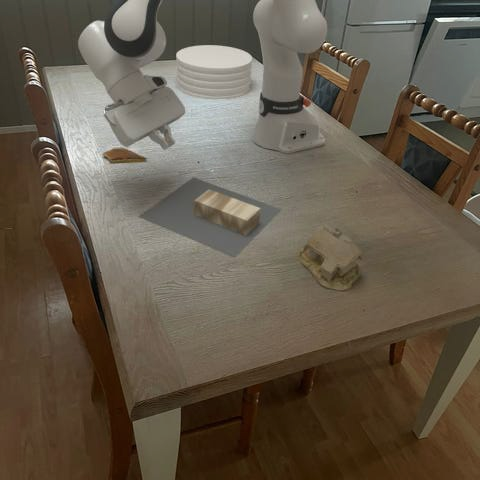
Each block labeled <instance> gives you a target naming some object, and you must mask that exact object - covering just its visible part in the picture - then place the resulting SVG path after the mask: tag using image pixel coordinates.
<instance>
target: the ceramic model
mask: <svg viewBox="0 0 480 480" xmlns="http://www.w3.org/2000/svg"><path fill="white" fill-rule="evenodd" d="M342 231H343V230H342V229H341V228H339V227H336V228H333V227H331V226H330V225H328V224H324V225H319V226H318V227H316V228H315V229H314V231H313V232H312V233H311V234H310V236H309V237H308V239H307V242H305V243H303V244H302V245H300V249H299V261H300V263H301V264H302V265H303V266H304V267H305V268H306V269H308V270H309V272H310V273H311V274H312V275H313V277H314V278H315V280H316V281H317V282H318V283H319V284H320V285H322V287H324V288H327V289H331V290H336V291H341V292H342V291H348V290H350V289H351V288H352V285H353V284H354V282H355V281H356V280H358V278H359V277H361V274H362V265H361V264H360V263H359V260H363V258H364V255H363V253H362V251H361V250H360V249H359V248H358V246H357V245H356V244H355V243H354V242H353V239H351V238H350V237H348V236H346V235H345V234H342Z"/></svg>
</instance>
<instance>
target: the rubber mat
mask: <svg viewBox="0 0 480 480" xmlns="http://www.w3.org/2000/svg"><path fill="white" fill-rule="evenodd" d="M209 189H210V190H213V191H215V192H218V193H221V194H223V195H226V196H229V197H232V198H234V199H237V200H240V201H242V202H245V203H248V204H251V205H253V206H256V207H259V208H261V209H260V219H259V223H258V224H257V225H256V226H255V227H254V228H253V229H252V230H251V231H250V232H249V233H248V234H247V235H244V234H241V233H239V232H236V231H234V230H231V229H229V228H226V227H224V226H221V225H219V224H216V223H214V222H211V221H209V220H206V219H204V218H201V217H199V216H196V215H195V213H194V200H196V199H197V198H198V197H199V196H201V195H202V194H203V193H205V192H206V191H207V190H209ZM281 211H282V208H279V207H278V206H277V207H276V206H274V205H271V204H268V203H265V202H263V201H259V200H257V199H254V198H252V197H249V196H246V195H243V194H240V193H238V192H235V191H232V190H230V189H226V188H223V187H222V186H221V187H220V186H218V185H215V184H213V183H210V182H207V181H205V180H202V179H199V178H196V177H192V178H190V179H189V180H188V181H186V182H185V183H183V184H182V185H180V186H179V187H178V188H176V189H175V190H174V191H172V192H170V194H168V195H166V196H165V197H164V198H163V199H161V200H160V201H158V202H156V203H155V204H154V205H152V206H151V207H150V208H148V209H147V210H145V211H144V212H143V213H141V214H140V215H138V216H137V217H138V218H140V219H142V220H145V221H147V222H150V223H152V224H155V225H157V226H160V227H161V228H164V229H167V230H169V231H170V232H173V233H176V234H178V235H180V236H182V237H185V238H188V239H190V240H193V241H194V242H197V243H199V244H202V245H203V246H206V247H208V248H212V249H213V250H215V251H219V252H221V253H224V254H225V255H227V256H230V257H232V258H236V257H237V256H238V255H239V254H240V253H241V252H242V251H243V250H244V249H245V248H246V247H247V246H248V245H249V244H250V243H251V242H252V240H254V239H255V238H256V237H257V236H258V235H259V233H261V231H263V229H264V228H265V227H266V226H267V225H268V224H269V223H270V222H271V221H272V220H273V219H274V218H275V217H276V216H277V215H278V214H279V213H280V212H281Z"/></svg>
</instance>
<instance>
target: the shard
mask: <svg viewBox="0 0 480 480" xmlns="http://www.w3.org/2000/svg"><path fill="white" fill-rule="evenodd" d="M102 156H104V157H105V158H107V159H108V161H109V163H110V164H116V163H141V162H142V163H143V162H146V161H147V160H148V157H145V156H143V155H140V154H138V153H136V152H135V151H132V150H129V149H128V148H125V147H124V148H123V147H121V146H120V147H115V148H112V149H109V150H107V151H104V152H103V153H102Z"/></svg>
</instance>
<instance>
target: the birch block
mask: <svg viewBox="0 0 480 480" xmlns="http://www.w3.org/2000/svg"><path fill="white" fill-rule="evenodd" d="M260 209H261V208H259V207H256V206H253V205H251V204H248V203H245V202H242V201H240V200H237V199H234V198H232V197H229V196H226V195H223V194H221V193H218V192H215V191H213V190H210V189H209V190H207V191H206V192H205V193H203V194H202V195H201V196H199V197H198V198H197V199H196V200H194V213H195V215H196V216H199V217H201V218H204V219H206V220H209V221H211V222H214V223H216V224H219V225H221V226H224V227H226V228H229V229H231V230H234V231H236V232H239V233H241V234H244V235H247V234H248V233H249V232H250V231H251V230H252V229H253V228H254V227H255V226H256V225H257V224H258V223H259V219H260Z"/></svg>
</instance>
